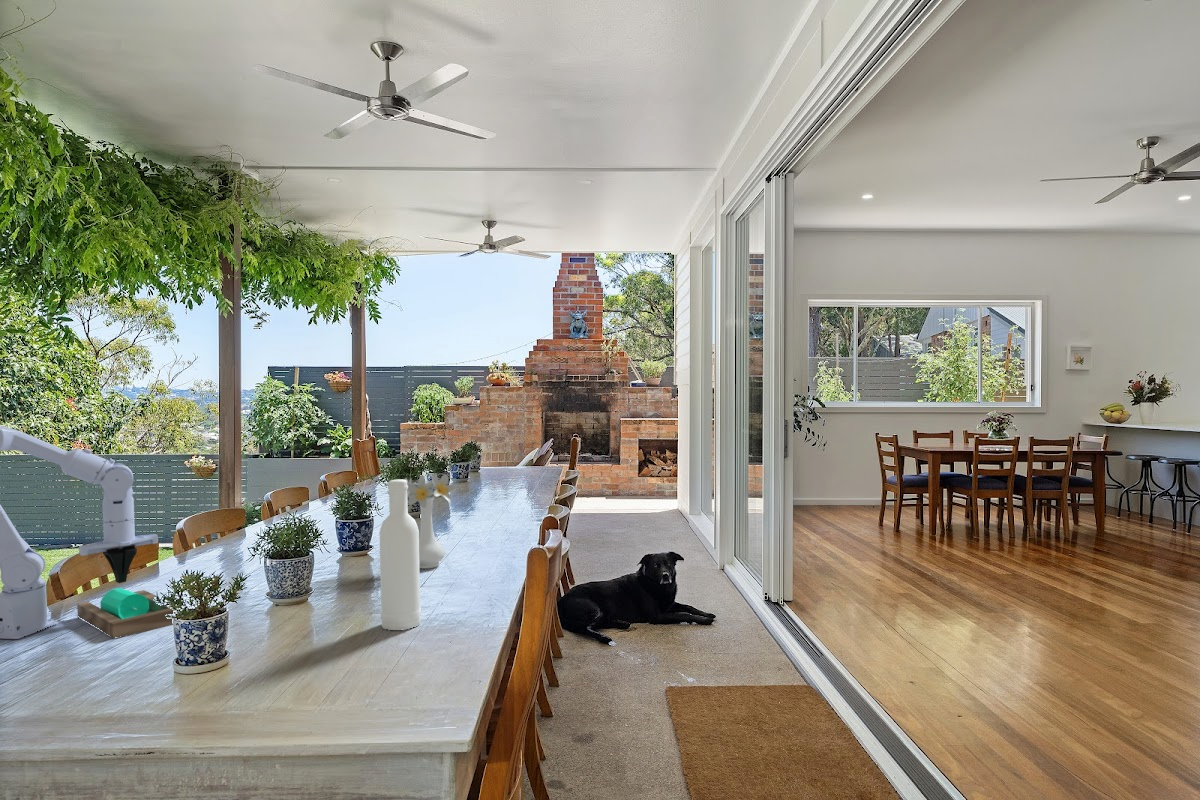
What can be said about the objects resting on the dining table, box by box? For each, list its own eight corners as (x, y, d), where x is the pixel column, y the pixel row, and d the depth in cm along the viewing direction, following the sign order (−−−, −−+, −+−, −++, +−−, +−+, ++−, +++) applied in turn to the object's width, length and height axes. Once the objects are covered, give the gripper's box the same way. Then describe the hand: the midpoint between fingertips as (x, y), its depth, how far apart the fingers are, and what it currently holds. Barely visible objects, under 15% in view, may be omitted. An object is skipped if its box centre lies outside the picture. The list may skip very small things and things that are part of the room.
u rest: (77, 617, 159) (77, 604, 159) (144, 602, 169) (143, 590, 169) (113, 639, 145) (113, 624, 145) (183, 621, 155) (183, 607, 155)
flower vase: (397, 560, 205) (395, 472, 205) (463, 560, 205) (461, 471, 204) (383, 573, 192) (381, 478, 192) (453, 572, 192) (451, 477, 191)
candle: (105, 621, 159) (126, 629, 151) (95, 596, 158) (116, 603, 150) (135, 607, 163) (156, 614, 156) (126, 583, 162) (147, 589, 155)
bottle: (410, 632, 146) (406, 483, 146) (374, 630, 148) (370, 482, 147) (427, 619, 154) (424, 477, 153) (393, 617, 156) (389, 477, 155)
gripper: (85, 527, 151) (88, 592, 152) (162, 516, 163) (164, 577, 163) (74, 523, 156) (77, 587, 156) (150, 513, 167) (152, 572, 168)
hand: (121, 581), depth 160 cm, fingers closed
